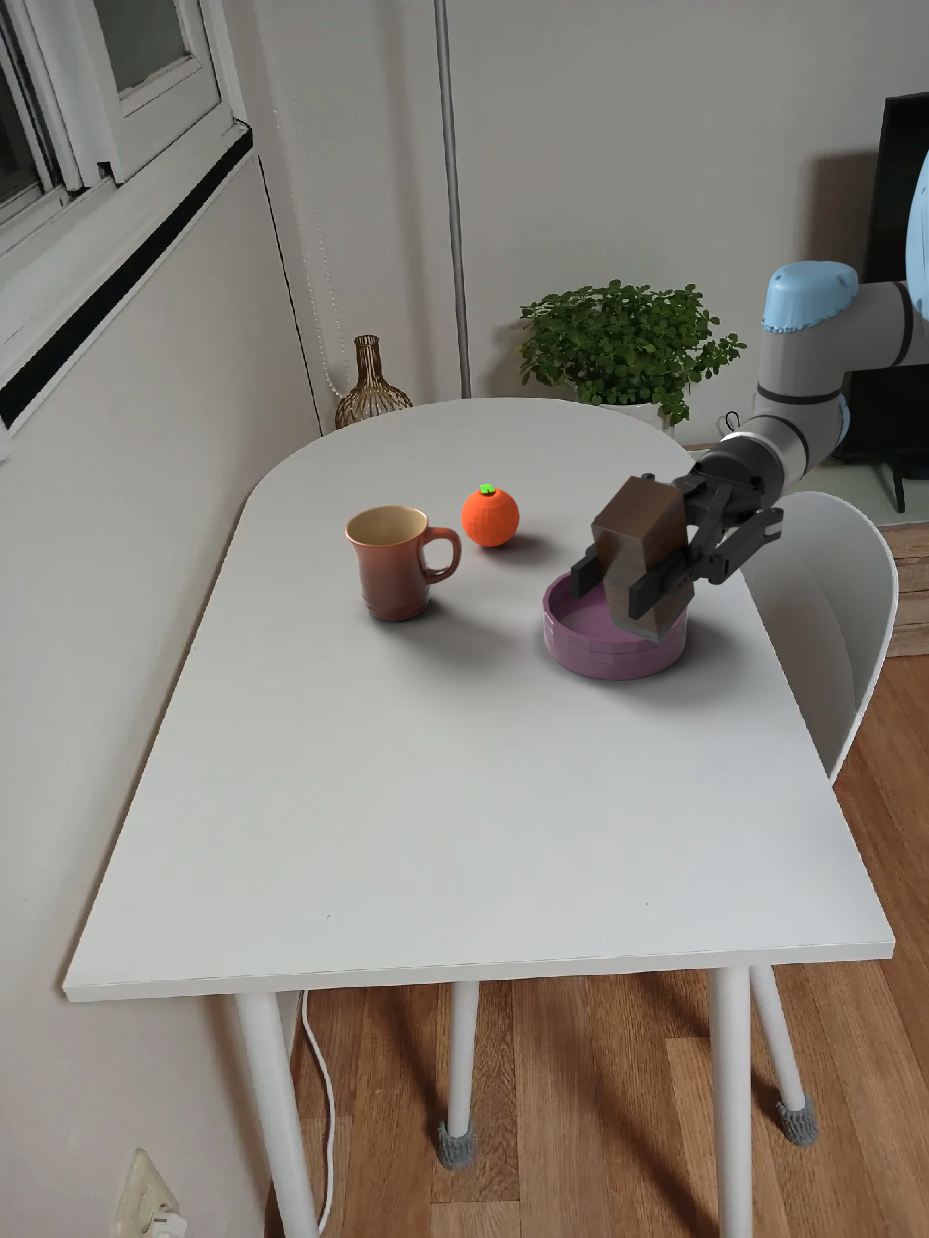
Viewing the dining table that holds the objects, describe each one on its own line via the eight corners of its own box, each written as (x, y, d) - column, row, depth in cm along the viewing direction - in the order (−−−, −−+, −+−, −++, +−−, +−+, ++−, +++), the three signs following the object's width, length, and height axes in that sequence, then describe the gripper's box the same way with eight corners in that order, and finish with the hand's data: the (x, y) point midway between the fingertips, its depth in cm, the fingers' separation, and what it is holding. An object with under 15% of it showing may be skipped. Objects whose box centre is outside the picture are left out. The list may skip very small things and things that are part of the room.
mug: (351, 629, 102) (336, 547, 96) (366, 584, 109) (354, 505, 103) (462, 629, 100) (454, 545, 94) (470, 584, 107) (463, 503, 101)
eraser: (695, 594, 81) (682, 488, 72) (659, 644, 78) (641, 540, 69) (649, 579, 83) (631, 474, 74) (612, 626, 81) (589, 524, 72)
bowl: (715, 638, 96) (718, 601, 93) (612, 700, 89) (613, 662, 86) (615, 582, 105) (615, 547, 103) (516, 634, 99) (513, 599, 96)
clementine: (457, 529, 118) (452, 477, 114) (511, 520, 118) (508, 468, 114) (469, 561, 111) (464, 508, 107) (527, 552, 112) (524, 498, 108)
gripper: (834, 535, 84) (704, 672, 70) (659, 487, 93) (514, 599, 79) (847, 457, 79) (711, 587, 65) (662, 416, 89) (509, 520, 75)
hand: (603, 593), depth 72 cm, fingers closed on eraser, 4 cm apart
